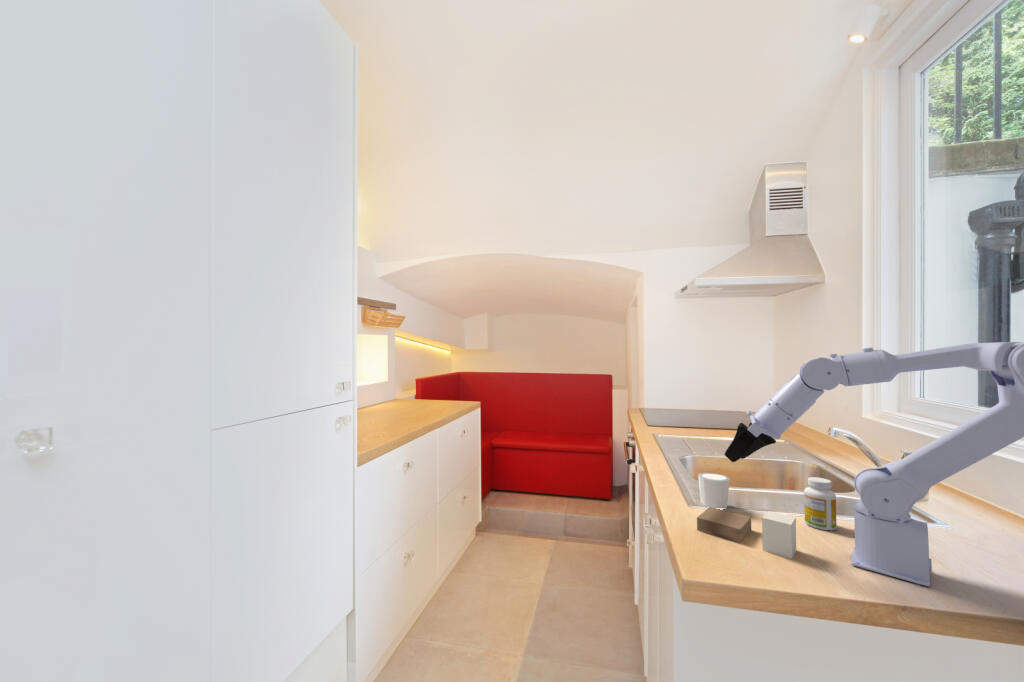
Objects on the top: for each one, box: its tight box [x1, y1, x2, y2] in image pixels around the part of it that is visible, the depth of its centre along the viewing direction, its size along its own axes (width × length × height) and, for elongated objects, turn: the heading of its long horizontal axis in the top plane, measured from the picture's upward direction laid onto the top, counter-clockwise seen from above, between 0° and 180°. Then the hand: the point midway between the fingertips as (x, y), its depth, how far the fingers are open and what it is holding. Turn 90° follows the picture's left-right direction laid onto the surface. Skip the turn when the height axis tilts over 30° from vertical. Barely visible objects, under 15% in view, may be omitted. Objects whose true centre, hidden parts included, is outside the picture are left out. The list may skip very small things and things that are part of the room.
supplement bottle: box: [803, 476, 838, 531], centre depth 86 cm, size 5×5×10 cm
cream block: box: [761, 510, 797, 560], centre depth 75 cm, size 4×4×6 cm
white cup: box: [697, 472, 730, 508], centre depth 96 cm, size 7×7×7 cm
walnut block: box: [696, 507, 752, 544], centre depth 83 cm, size 8×8×3 cm
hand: (733, 456), depth 82 cm, fingers open, 7 cm apart
